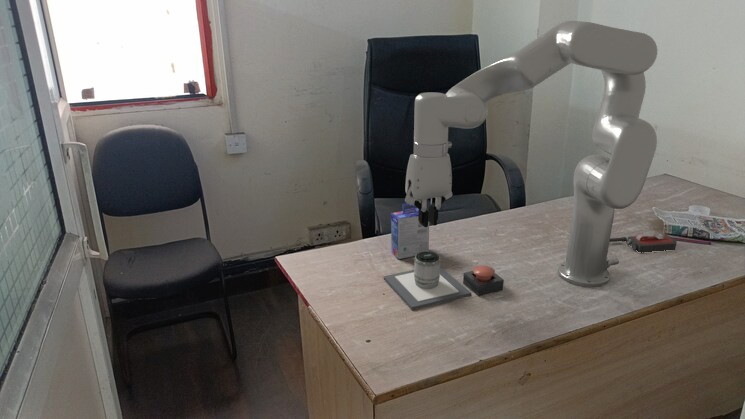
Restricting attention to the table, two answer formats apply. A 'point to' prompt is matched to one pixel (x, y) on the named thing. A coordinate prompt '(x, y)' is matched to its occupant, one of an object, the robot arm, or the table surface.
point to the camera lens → (427, 270)
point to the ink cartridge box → (408, 233)
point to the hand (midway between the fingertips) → (428, 223)
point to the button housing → (483, 284)
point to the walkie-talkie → (648, 242)
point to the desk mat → (426, 297)
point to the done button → (483, 273)
